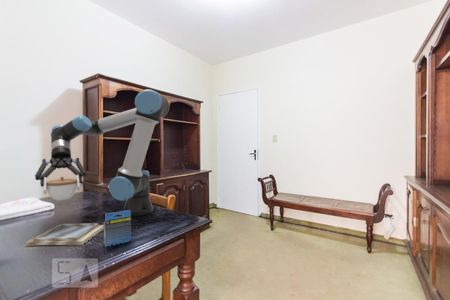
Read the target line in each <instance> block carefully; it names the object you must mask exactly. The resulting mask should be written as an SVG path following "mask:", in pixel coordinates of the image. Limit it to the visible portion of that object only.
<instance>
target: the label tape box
mask: <svg viewBox="0 0 450 300" xmlns="http://www.w3.org/2000/svg"><path fill="white" fill-rule="evenodd" d="M118 215H119V216H118ZM131 222H132V216H131V211H130V210H127V211H123V210H120V211H115V212H109V213H108V212H106V213H105V220H104V221H103V225H104V229H103V244H105V245H104V247H105V248H107V246H109V247H112V246H111V245H113V246H117V245H121V244H124V243H129V241H130V242H131V241H132V240H131V239H132V237H131V236H132V233H131V232H132V231H131V230H132V229H131V228H132V223H131ZM120 243H121V244H120ZM116 244H117V245H116Z"/></svg>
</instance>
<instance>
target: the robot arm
mask: <svg viewBox="0 0 450 300" xmlns="http://www.w3.org/2000/svg"><path fill="white" fill-rule="evenodd" d="M134 106H135V108H134V107H133V108H131V109H128V110H125V111H122V112H118V113H115V114H112V115H111V114H110V115H108V116H105V117H102V118H99V119H96V120H93V121H91V120H90V118H88V117H87V116H86V115H84V114H81V115H78V116H76V117H75V118H73V119H72V120H70V121H69V122H67V123H65V124H57V125H54V126H53V127H52V128H51V132H50V138H51V139H50V141H51V142H50V143H51V144H50V147H51V148H50V151H51V154H50V159H46V158H43V159H42V161H41V162H42V163H41V165H40V167H38V170H37V171H36V172H35V174H34V177H35V180H36V181H40V187H43V194H44V195H47V194H48V192H47V185H46V182H48V181H47V178H48V177H49V176H50V175H51V174H52V173H53V172H54V171H55V170H56V169H68V170H69V171H71V172H72V173H73V174H74V175H75V176H76V180H77V188H76V191H80V184H82V182H83V177H86V176H87V171H86V170H85V168H84V166H83V165H82V163H81V161H80V158H79V157H76V158H72V151H71V149H72V148H71V141H72V140H74V139H76V138H77V137H80V135H81V136H82V135H84V136H93V137H94V136H95V137H98V136H103V134H104V133H106V132H110V131H113V130H117V129H121V128H124V127H127V126H130V125H133V124H135V125H134V129H133V132H132V135H131V138H130V142H129V144H128V147H127V151H126V154H125V158H124V161H123V163H122V166H121V167H119V168H118V169H117V171H116V175H115V177H114V178H113V177H112V179H111V180H110V182H109V184H108V191H109V193H110V195H111V196H112V197H113V199H115V200H116V201H117V200H118V201H121V202H123V201H125V203H124V204H125V205H124V207H123V210H122V211H127V210H130V211H131V217H136V216H144V215H149V214H150V213H153V211H154V206H153V204H152V200H151V198H150V197H151V196H150V179H151V177H150V171H149V170H145V169H144V170H143V165H144V163H145V162H144V161H145V159H146V155H147V151H148V149H149V146H150V143H151V139H152V137H153V136H152V135H153V133H154V129H155V126H156V125H157V124H159V123H160V121H161V118H164V117H165V116H166V115H167V114H168V113H169V110H170V102H169V100H168V99H167V98H166V97H165V96H163V95H162V94H160V93H159V92H158V91H156V90H153V89H143V90H142V91H140V92H138V94H137V95H136V96H135V98H134ZM73 163H74V164H75V165H76V167H77V168H76V167H75V166H74V165H73ZM49 164H50V166H49V167H48V168H47V169H46V167H47V166H48V165H49Z"/></svg>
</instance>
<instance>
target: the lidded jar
mask: <svg viewBox="0 0 450 300" xmlns="http://www.w3.org/2000/svg"><path fill="white" fill-rule="evenodd" d="M46 185H47V194H48V195H49V196H50V198H51V199H53V200H54V201H65V200H70V199H71V198H72V197H73V196H74V195H75V193H76V191H77V178H64V176H60V178H58V179H54V180H53V179H52V180H48V181H47V182H46Z"/></svg>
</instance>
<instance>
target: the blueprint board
mask: <svg viewBox="0 0 450 300" xmlns="http://www.w3.org/2000/svg"><path fill="white" fill-rule="evenodd" d="M102 231H104V224H99V223H97V222H95V223H61V224H58V225H56V226H54V227H52V228H51V229H47V230H46V231H45V232H43V233H41V234H38V235H36V236H35V237H33V238H31V239H29V240H27V241H25V247H35V246H34V245H69V246H84V245H85V244H86V243H88V242H89V241H90V240H91V239H92V237H93V238H94V237H95V236H97V235H98V234H99V233H101V232H102ZM88 240H89V241H88ZM84 243H85V244H84Z"/></svg>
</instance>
